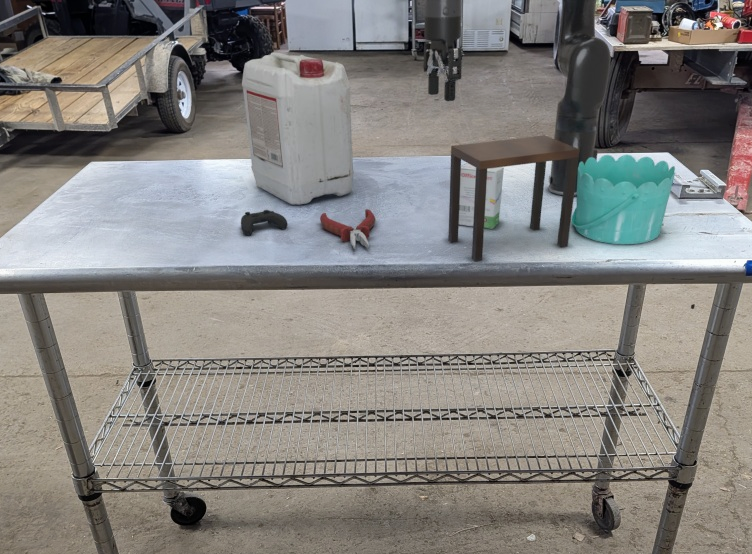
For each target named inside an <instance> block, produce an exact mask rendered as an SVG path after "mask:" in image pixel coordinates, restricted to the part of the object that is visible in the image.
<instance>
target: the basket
mask: <svg viewBox="0 0 752 554" xmlns="http://www.w3.org/2000/svg"><path fill="white" fill-rule="evenodd" d="M669 167H670V166H669V163H668V161H666V160H660V161H658V162H657V163H656V164H655V162H654V160H653V159H652V157H649V156H643V157H641V158H639V159H638V160H637V161H636V159H635V157H633V156H632V155H630V154H623V155H621V156H619V157H618V158H617V159H616V158H615V157H614V156H612V155H610V154H604V155H602V156H601V157H600V158H599V160H596V159H595V158H593V157H591V158H589V159H588V160H587V161H586V163H585V166H584V163H583V162H580V163H579V167H578V178H577V179H578V181H577V196H576V205H575V208H574V211H573V212H572V215H571V223H572V225H573V226H574V229H575V230H576V232H577V233H579V234H580V235H581V236H583V237H584V238H587V239H589V240H593V241H595V242H596V241H597V242H599V243H600V242H601V243H606V244H612V245H624V246H625V245H636V244H637V245H638V244H644V243H648V242H651V241H653V240H656V239H657V238H658V237H659V236H660V234H661V231H662V227H663V223H664V219H665V214H666V211H667V206H668V202H669V199H670V194H671V192H672V187H673V185H674V184H673V180H675V176H676V172H675V171H676V167H675V166H673V165H672V166H671V167H670V168H669Z"/></svg>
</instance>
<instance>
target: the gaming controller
mask: <svg viewBox="0 0 752 554" xmlns="http://www.w3.org/2000/svg"><path fill="white" fill-rule="evenodd" d="M262 223H268V224H273V225H275V226H276V227H278V228H280V229H281V230H282V229H283V230H284V229H286V228H287V227H288V221H287V219H286V217H285V216H283V215H282V214H280V213H278V212H275V211H274V210H269V209H264V210H263V211H258V212H253V213H251V212H250V211H246V212H244V214H243V215H242V216H241V218H240V227H241V230H242V232H243V234H245V236H250V235H252V233H253V229H254V225H257V224H262Z"/></svg>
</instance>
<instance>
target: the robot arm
mask: <svg viewBox="0 0 752 554" xmlns="http://www.w3.org/2000/svg"><path fill="white" fill-rule="evenodd" d="M597 1H598V0H561V21H560V29H559V30H560V31H559V38H558V39H559V40H558V47H557V65H558V69H559V71H560V72H561V74H562V75H563V76H564V77H565V78H566V84H565V91H564V95H563V97H562V98H561V99H560V100H559V101H558V102H557V107H556V116H555V126H554V136H553V139H555V140H557V141H560V142H562V143H565V144H567V145H570V146H572V147H575V148H577V149H579V157H578V166H577V174H576V182H575V190H574V197H577V181H578V179H577V178H578V167H579V163H580V162H583V163H584V166H585V163H586V161H587V160H588V159H589V158H591V157H593V158H595V159H596V160H597V159H598V154H599V153H598V152H599V151H598V149H596V148H595V147H596V140H597V133H598V132H597V131H598V124H599V123H598V122H599V115H600V110H601V107H602V105H603V103H604V101H605V97H606V93H607V87H608V81H609V75H610V69H611V49H610V48H609V45H608V44H607V42H605V40H604V39H602V38H599V37H597V36H596V28H595V27H596V24H595V23H596V7H597ZM423 26H424V31H423V32H424V33H423V34H424V36H423V37H424V39H425V40H426V42H424V43H423V72H424V73H425V72H426V76H427V77H428V79H427V80H428V81H427V82H428V83H427V86H428V87H427V92H428V95H430V96H433V95H434V96H435V95H438V94H439V92H440V91H439V89H440V76H439V74H440V73H441V74H443V79H444V94H443V95H444V97H443V98H444V99H443V100H444V101H445V102H454V101H455V100H456V82H458V81H459V80H461V79H462V54H463V53H462V52H463V51H462V48H461V47H455V43H454V42H455V41H457V40H459V39H460V38H461V31H462V0H424V25H423ZM597 161H598V160H597ZM566 163H567V159H562V160H554V161H551V166H550V174H549V175H548V183H549V184H548V191H549V192H550V193H551V194H554V195H558V196H563V189H564V180H565V171H566ZM672 185H675V184H674V183H673V184H672ZM695 306H696V305H695V303H692V304H691V305H690V309H691V310H694V309H695Z"/></svg>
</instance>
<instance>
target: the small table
mask: <svg viewBox="0 0 752 554" xmlns="http://www.w3.org/2000/svg"><path fill="white" fill-rule="evenodd" d="M578 157H579V149H577V148H575V147H572V146H570V145H567V144H565V143H562V142H560V141H557V140H555V139H554V138H552V137H549V136H547V135H536V136H527V137H520V138H519V137H518V138H510V139H501V140H491V141H483V142H474V143H465V144H457V145H455V144H454V145H451V146H450V175H449V176H450V177H449V206H448V209H449V210H448V238H447V239H448V242H449V243H451V244H453V243H459V227H460V226H459V203H460V176H461V166H462V161H463V162H465V163H469V164H470V165H472V166H474V167H476V180H475V200H474V221H473V226H472V242H471V243H472V244H471V260H473V262H482V261H483V253H484V235H485V234H484V233H485V228H484V219H485V202H486V184H487V169H490V168H498V167H503V168H505V167H514V166H520V165H521V166H522V165H529V164H535V167H534V177H533V188H532V198H531V199H532V200H531V208H530V209H531V210H530V219H529V220H530V222H529V229H530V230H532V231H537V230H540V229H541V219H542V218H541V217H542V210H543V209H542V208H543V199H544V188H545V179H546V168H547V162H552V161H554V160H562V159H567V163H566V171H565V180H564V189H563V195H562V199H561V207H560V215H559V223H558V224H559V225H558V234H557V240H556V241H557V243H556V245H557V246H558V247H560V248H566V247H568V246H569V239H570V229H571V223H572V215H573V205H574V197H575V196H574V190H575V182H576V174H577V166H578Z"/></svg>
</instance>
